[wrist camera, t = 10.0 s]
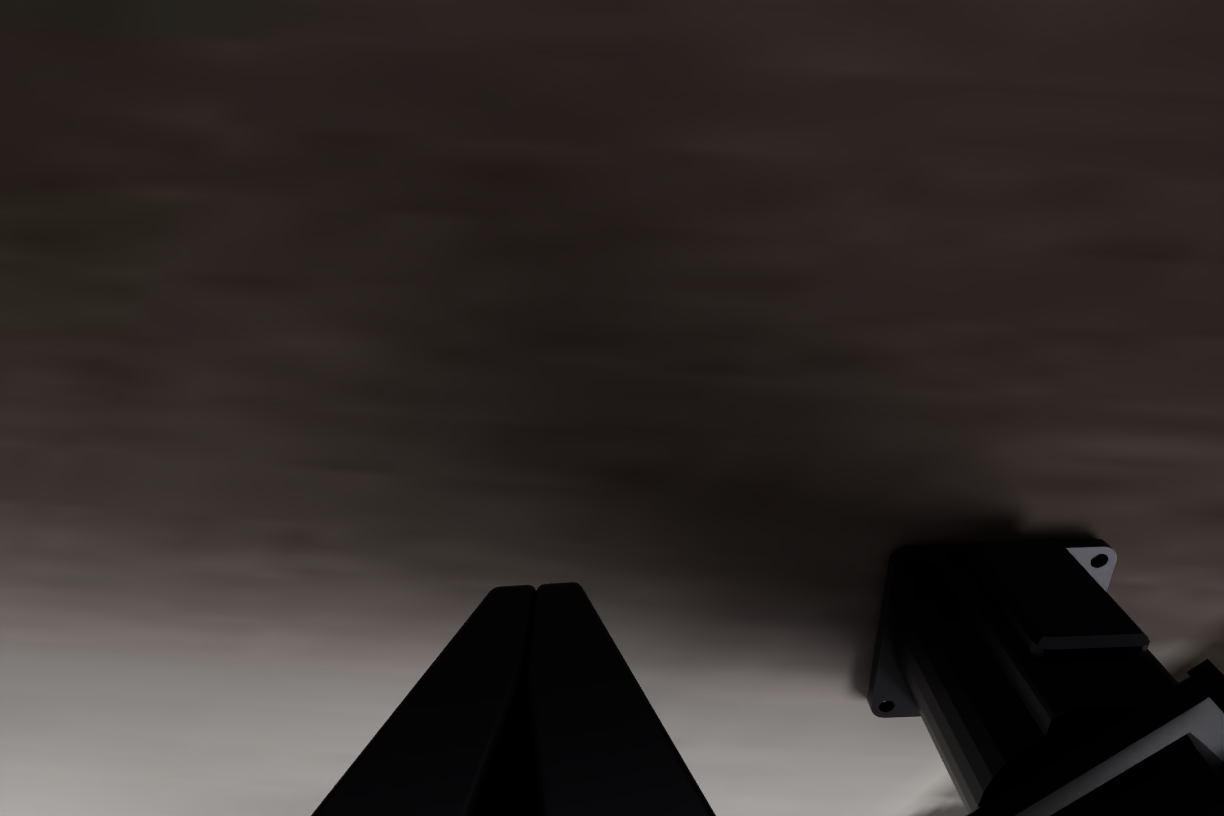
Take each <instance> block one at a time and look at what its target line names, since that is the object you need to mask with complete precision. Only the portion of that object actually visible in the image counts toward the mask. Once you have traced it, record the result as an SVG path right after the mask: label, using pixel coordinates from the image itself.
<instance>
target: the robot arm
mask: <svg viewBox="0 0 1224 816" xmlns="http://www.w3.org/2000/svg"><path fill="white" fill-rule="evenodd" d="M1098 554H1099V555H1098ZM1096 555H1098V556H1097V557H1096V558H1094V559H1092V558H1093V557H1094V556H1096ZM1116 560H1117V554H1116V552H1115V550H1114V549H1113V548H1112V547H1111V546H1110V545H1109V544H1108V543H1107V542H1105V541H1103V540H1102V539H1071V540H1027V541H1000V542H976V543H963V544H936V545H910V546H904V547H901V548H899V549H897V550H895V552H894V553H893V554H892V555H891V557H890V560H889V565H888V571H887V578H886V584H885V590H884V596H883V603H882V609H881V615H880V621H879V628H878V634H877V640H876V646H875V653H874V659H873V665H872V671H871V678H870V684H869V690H868V696H867V699H868V703H869V706H870V708H871V711H872V712H873V714H874V715H876V716H878V717H883V718H890V717H915V716H921V717H922V719H923V721H924V723H925V725H926V727H927V730H928V732H929V734H930V736H931V738H932V740H933V742H934V744H935V746H936V748H937V750H938V752H939V754H940V756H941V759H942V761H943V763H944V765H945V767H946V769H947V771H948V773H949V775H950V777H951V779H952V781H953V783H954V785H955V788H956V790H957V792H958V794H959V796H960V798H961V800H962V802H963V804H964V806H965V808H966V810H967V812H968V814H967V815H965V816H1224V675H1223V674H1222V673H1221V672H1220V671H1219V670H1218V669H1217V668H1216V667H1215V666H1214V665H1213V664H1212V663H1211V662H1210V661H1209V660H1208V659H1207V660H1205V661H1204V662H1202V663H1200V664H1199V665H1197V666H1196V667H1194V668H1192V669H1191V670H1189V671H1188V672H1187V673H1188V674H1189V675H1190V676H1188V677H1187V678H1185V679H1184V680H1182V681H1180V682H1179V683H1178V682H1177V681H1176V680H1175V679H1174V678H1173V677H1172V675H1171V674H1170V673H1169V672H1168V671H1167V670H1166V669H1165V668H1164V667H1163V665H1162V664H1161V663H1160V662H1159V661H1158V660H1157V659H1156V658H1155V657H1154V655H1153V654H1152V653H1151V652H1150V651H1149V650H1148V649H1147V648H1148V645H1149V642H1150V640H1149V638H1148V637H1147V636H1146V634H1145V633H1144V632H1143V631H1142V630H1141V629H1140V628H1139V627H1138V626H1137V625H1136V624H1135V622H1134V621H1133V620H1132V619H1131V618H1130V617H1129V616H1128V615H1127V614H1126V613H1125V612H1124V611H1123V609H1122V608H1121V607H1120V606H1119V605H1118V604H1117V603H1116V602H1115V601H1114V600H1113V599H1112V597H1111V596H1110V595H1109V594H1108V593H1107V588H1108V585H1109V582H1110V579H1111V576H1112V573H1113V570H1114V566H1115V563H1116ZM909 561H914V562H913V563H912V564H911V565H909V566H905V567H904V564H906V563H907V562H909ZM884 701H886V702H884ZM311 816H716V815H715V813H714V812H713V810H712V808H711V807H710V805H709V803H708V801H707V800H706V798H705V796H704V795H703V793H702V791H701V790H700V788H699V786H698V784H697V783H696V781H695V779H694V778H693V776H692V774H691V772H690V771H689V769H688V767H687V766H686V764H685V762H684V760H683V759H682V757H681V755H680V754H679V752H678V750H677V749H676V747H675V745H674V743H673V742H672V740H671V738H670V737H669V735H668V733H667V731H666V730H665V728H664V726H663V725H662V723H661V721H660V720H659V718H658V716H657V714H656V713H655V711H654V709H653V708H652V706H651V704H650V702H649V701H648V699H647V697H646V696H645V694H644V692H643V690H642V689H641V687H640V685H639V684H638V682H637V680H636V679H635V677H634V675H633V673H632V672H631V670H630V668H629V667H628V665H627V663H626V661H625V660H624V658H623V656H622V655H621V653H620V651H619V650H618V648H617V646H616V644H615V643H614V641H613V639H612V638H611V636H610V634H609V632H608V631H607V629H606V627H605V626H604V624H603V622H602V621H601V619H600V617H599V615H598V614H597V612H596V610H595V609H594V607H593V605H592V603H591V602H590V600H589V598H588V597H587V595H586V593H585V591H584V590H583V588H582V587H581V586H580V585H579V584H578V583H574V582H570V583H553V584H543V585H541V586H539V587H538V589H537V591H536V590H535V588H534V587H533V586H531V585H519V586H502V587H496V588H494V589H492V590H491V591H490V592H489V593H488V594H487V596H486V597H485V598H484V599H483V601H482V602H481V603H480V604H479V606H478V607H477V608H476V609H475V611H474V612H473V613H472V614H471V616H470V617H469V618H468V620H467V621H466V622H465V623H464V625H463V626H462V627H461V628H460V630H459V631H458V632H457V633H456V635H455V636H454V637H453V638H452V640H451V641H450V642H449V643H448V645H447V646H446V647H445V648H444V650H443V651H442V652H441V653H440V655H439V656H438V657H437V658H436V660H435V661H434V662H433V663H432V665H431V666H430V667H429V668H428V670H427V671H426V672H425V673H424V675H423V676H422V677H421V678H420V680H419V681H418V682H417V683H416V685H415V686H414V687H413V688H412V690H411V691H410V692H409V693H408V695H407V696H406V697H405V698H404V700H403V701H402V702H401V704H400V705H399V706H398V707H397V709H396V710H395V711H394V712H393V714H392V715H391V716H390V717H389V719H388V720H387V721H386V722H385V724H384V725H383V726H382V727H381V729H380V730H379V731H378V732H377V734H376V735H375V736H374V737H373V739H372V740H371V741H370V742H369V744H368V745H367V746H366V747H365V749H364V750H363V751H362V752H361V754H360V755H359V756H358V757H357V759H356V760H355V761H354V762H353V764H352V765H351V766H350V767H349V769H348V770H347V771H346V772H345V774H344V775H343V776H342V777H341V779H340V780H339V781H338V783H337V784H336V785H335V786H334V788H333V789H332V790H331V791H330V793H329V794H328V795H327V796H326V798H325V799H324V800H323V801H322V803H321V804H320V805H319V806H318V808H317V809H316V810H315V811H314V813H313V814H312V815H311Z"/></svg>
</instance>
